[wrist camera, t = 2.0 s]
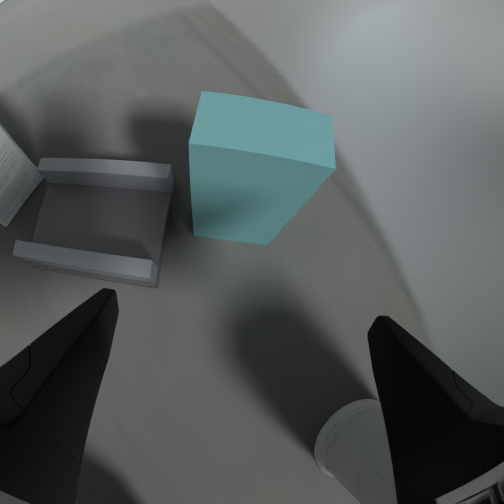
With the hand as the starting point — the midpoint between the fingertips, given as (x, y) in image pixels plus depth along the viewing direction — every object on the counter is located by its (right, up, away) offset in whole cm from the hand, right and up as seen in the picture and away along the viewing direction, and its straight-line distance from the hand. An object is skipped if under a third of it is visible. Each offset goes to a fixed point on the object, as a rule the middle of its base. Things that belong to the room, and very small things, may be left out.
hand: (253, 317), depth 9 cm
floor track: (-13, +4, +13) cm, 18 cm away
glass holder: (+12, -17, +12) cm, 24 cm away
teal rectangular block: (-2, +4, +15) cm, 15 cm away
